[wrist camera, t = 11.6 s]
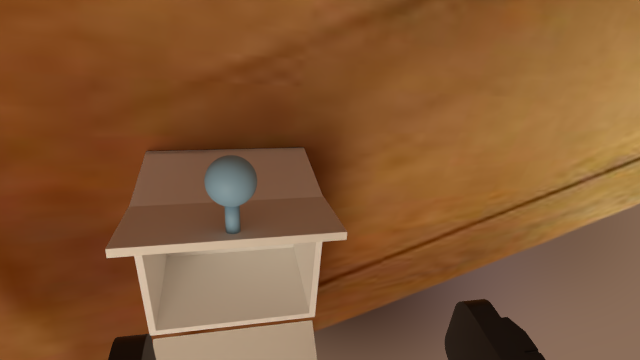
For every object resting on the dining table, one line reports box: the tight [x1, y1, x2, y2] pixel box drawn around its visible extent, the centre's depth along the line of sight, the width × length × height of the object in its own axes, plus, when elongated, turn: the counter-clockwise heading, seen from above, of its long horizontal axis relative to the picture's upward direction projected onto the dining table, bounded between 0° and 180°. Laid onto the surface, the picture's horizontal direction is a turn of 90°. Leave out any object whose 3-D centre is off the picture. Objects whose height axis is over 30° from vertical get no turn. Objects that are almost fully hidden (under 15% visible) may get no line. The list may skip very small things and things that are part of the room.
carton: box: [129, 147, 323, 336], centre depth 42 cm, size 16×14×11 cm
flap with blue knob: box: [105, 155, 347, 258], centre depth 30 cm, size 15×7×6 cm
